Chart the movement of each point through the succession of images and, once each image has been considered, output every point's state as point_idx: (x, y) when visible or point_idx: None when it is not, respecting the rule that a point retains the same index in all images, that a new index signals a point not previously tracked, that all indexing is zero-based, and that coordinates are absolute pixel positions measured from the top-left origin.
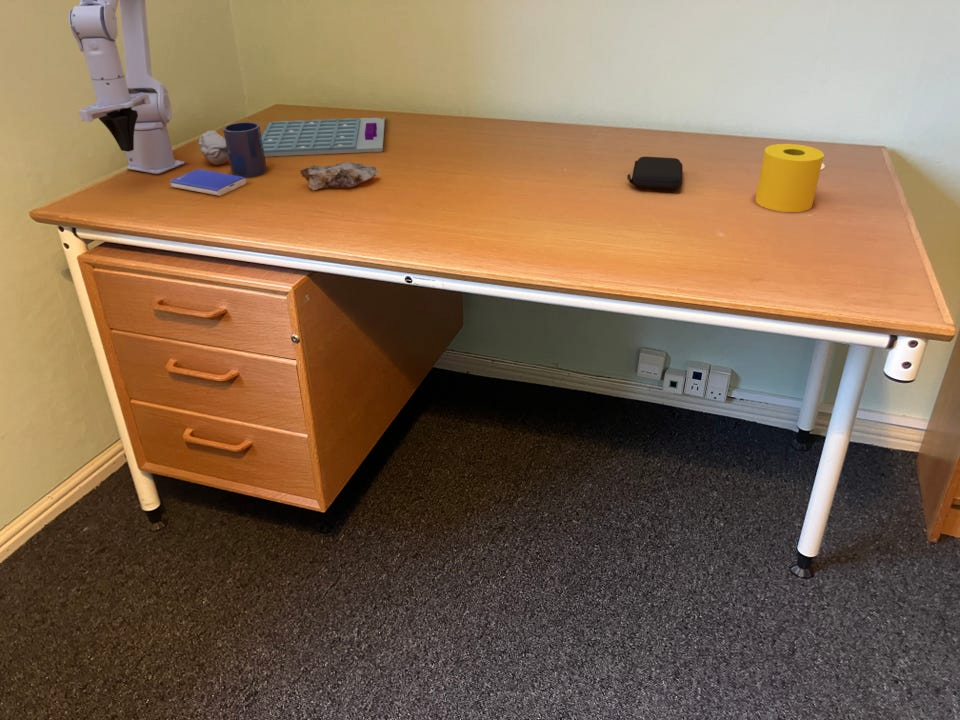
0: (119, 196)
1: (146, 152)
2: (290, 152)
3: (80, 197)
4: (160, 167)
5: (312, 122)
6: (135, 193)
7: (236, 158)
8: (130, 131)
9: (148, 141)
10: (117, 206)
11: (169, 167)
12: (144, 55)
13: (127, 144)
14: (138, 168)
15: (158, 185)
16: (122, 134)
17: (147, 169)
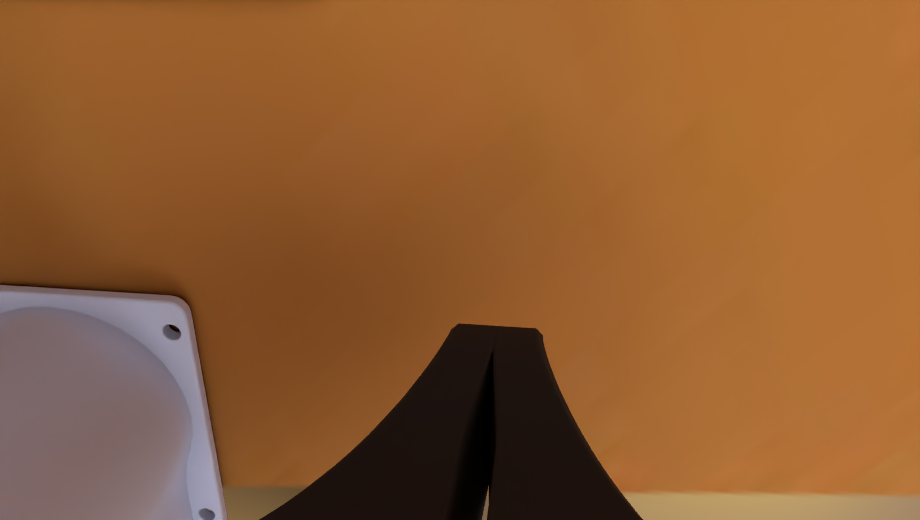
0: (649, 239)
1: (111, 468)
2: None
3: (746, 453)
4: (114, 337)
5: None
6: (552, 175)
7: None
8: (440, 452)
9: (34, 508)
10: (853, 91)
11: (60, 301)
12: None
13: (544, 368)
14: (200, 464)
15: (338, 139)
16: (601, 471)
17: (183, 400)
